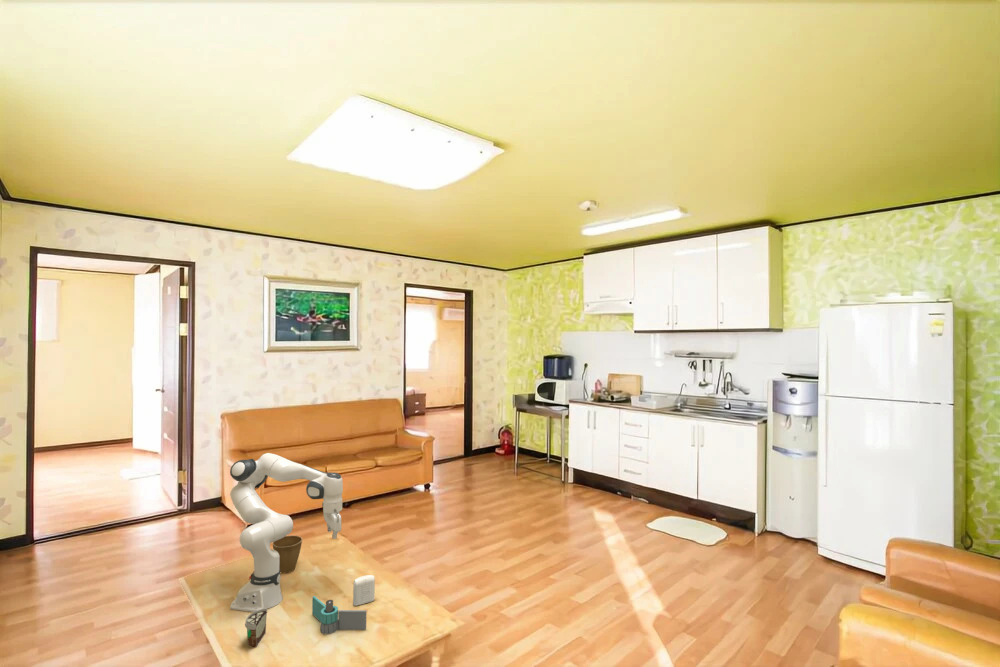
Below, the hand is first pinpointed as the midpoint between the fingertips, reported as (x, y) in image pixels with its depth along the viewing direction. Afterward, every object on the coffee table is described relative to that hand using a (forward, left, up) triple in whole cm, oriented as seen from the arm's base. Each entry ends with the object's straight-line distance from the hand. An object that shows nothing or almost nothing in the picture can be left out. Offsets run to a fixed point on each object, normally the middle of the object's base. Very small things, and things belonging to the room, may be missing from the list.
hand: (332, 534), depth 237 cm
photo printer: (+17, -5, -31) cm, 36 cm away
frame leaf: (+15, -27, -30) cm, 43 cm away
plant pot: (-34, +27, -31) cm, 53 cm away
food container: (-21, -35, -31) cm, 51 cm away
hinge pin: (+8, -27, -30) cm, 41 cm away
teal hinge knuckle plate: (+4, -22, -30) cm, 37 cm away
